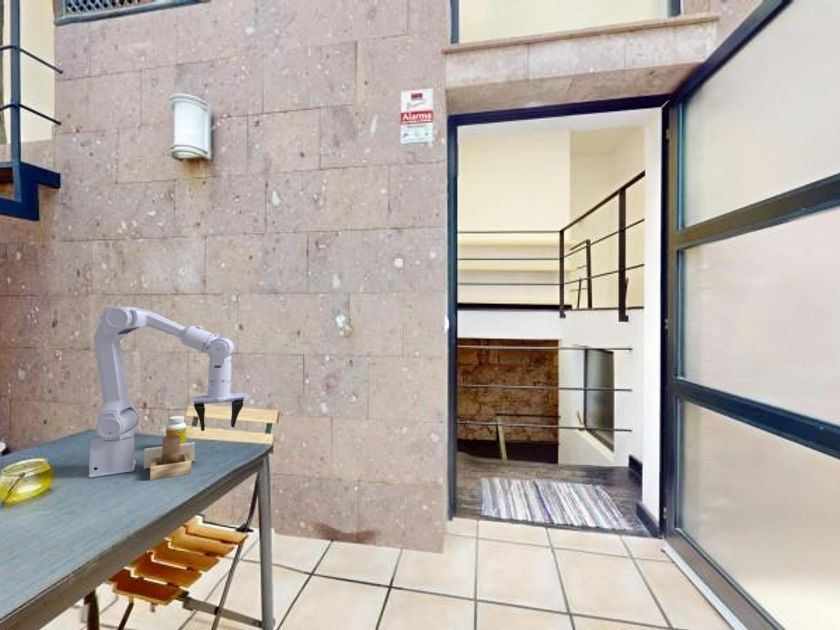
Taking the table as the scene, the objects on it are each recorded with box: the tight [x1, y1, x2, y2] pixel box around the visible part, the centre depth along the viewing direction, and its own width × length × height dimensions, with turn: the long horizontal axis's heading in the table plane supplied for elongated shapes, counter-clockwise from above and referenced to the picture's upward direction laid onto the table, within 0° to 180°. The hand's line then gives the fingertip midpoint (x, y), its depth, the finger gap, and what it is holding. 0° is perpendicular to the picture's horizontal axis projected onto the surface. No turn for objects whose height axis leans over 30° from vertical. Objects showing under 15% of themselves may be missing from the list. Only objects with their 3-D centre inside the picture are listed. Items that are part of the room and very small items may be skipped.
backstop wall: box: [143, 441, 196, 470], centre depth 112 cm, size 12×2×5 cm, turn 124°
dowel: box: [162, 435, 180, 465], centre depth 107 cm, size 4×4×8 cm
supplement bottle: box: [165, 415, 187, 444], centre depth 124 cm, size 5×5×10 cm
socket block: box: [149, 452, 192, 481], centre depth 107 cm, size 9×9×3 cm
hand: (218, 428), depth 112 cm, fingers open, 7 cm apart
